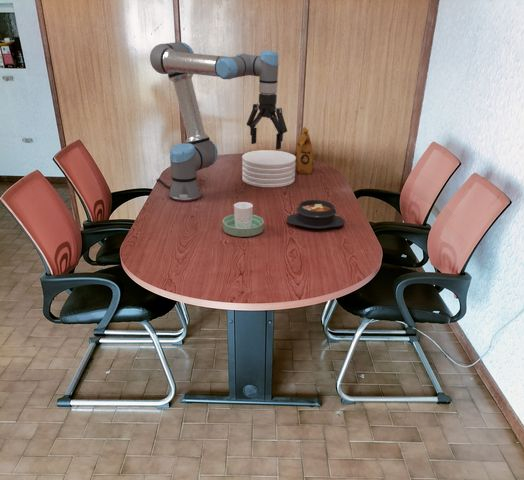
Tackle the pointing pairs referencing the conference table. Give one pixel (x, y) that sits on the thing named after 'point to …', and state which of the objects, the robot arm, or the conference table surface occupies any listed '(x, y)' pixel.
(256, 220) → the basin
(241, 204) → the white cup
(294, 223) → the casserole
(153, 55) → the robot arm
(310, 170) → the coffee package
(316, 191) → the conference table surface
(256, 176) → the plate stack
